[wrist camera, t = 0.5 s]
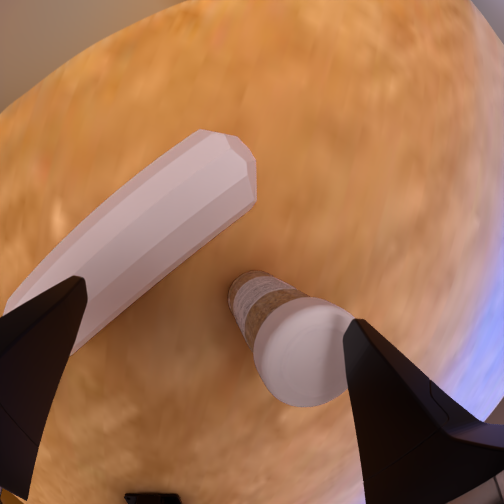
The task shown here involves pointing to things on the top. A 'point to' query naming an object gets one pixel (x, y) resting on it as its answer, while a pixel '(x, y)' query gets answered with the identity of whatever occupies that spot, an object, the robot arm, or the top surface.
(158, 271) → the light grey faceted bar
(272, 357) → the sprinkles bottle
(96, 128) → the top surface
